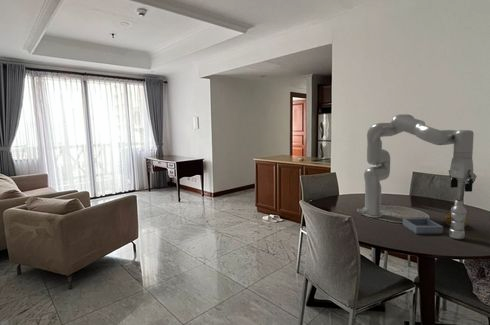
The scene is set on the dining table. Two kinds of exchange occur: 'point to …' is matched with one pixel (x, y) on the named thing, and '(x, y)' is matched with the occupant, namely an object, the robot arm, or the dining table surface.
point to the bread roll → (448, 220)
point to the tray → (422, 226)
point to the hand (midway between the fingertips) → (460, 189)
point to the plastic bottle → (457, 220)
